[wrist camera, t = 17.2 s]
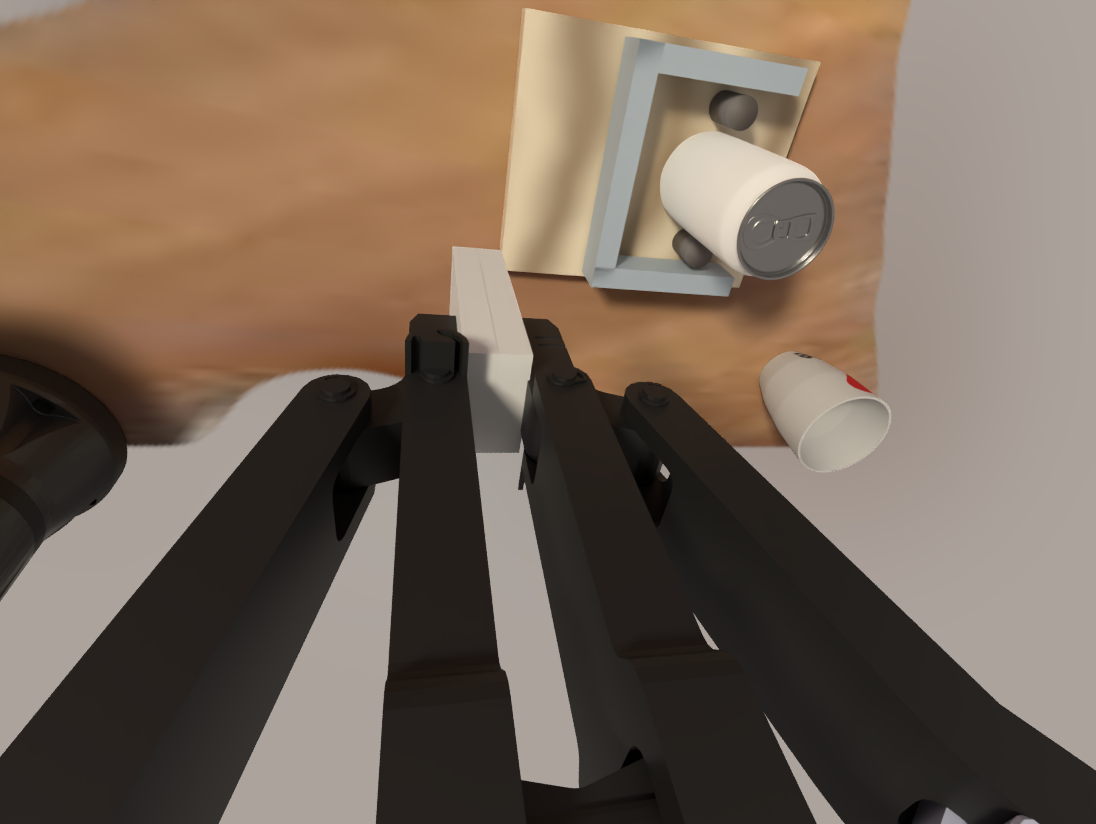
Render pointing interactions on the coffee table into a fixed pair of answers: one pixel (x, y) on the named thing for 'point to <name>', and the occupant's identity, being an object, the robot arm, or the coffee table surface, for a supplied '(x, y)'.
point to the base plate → (581, 130)
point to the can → (747, 204)
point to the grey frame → (624, 154)
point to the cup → (822, 411)
